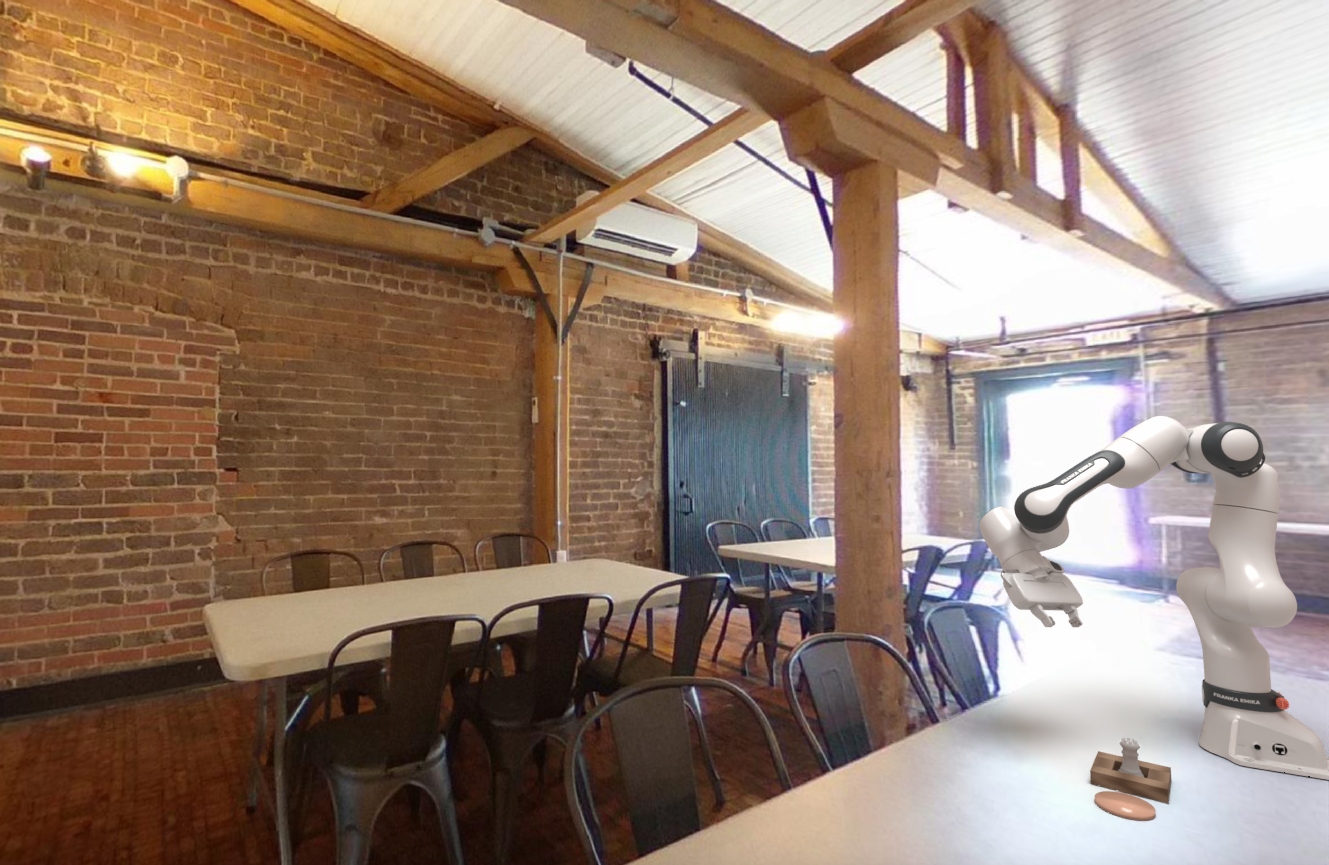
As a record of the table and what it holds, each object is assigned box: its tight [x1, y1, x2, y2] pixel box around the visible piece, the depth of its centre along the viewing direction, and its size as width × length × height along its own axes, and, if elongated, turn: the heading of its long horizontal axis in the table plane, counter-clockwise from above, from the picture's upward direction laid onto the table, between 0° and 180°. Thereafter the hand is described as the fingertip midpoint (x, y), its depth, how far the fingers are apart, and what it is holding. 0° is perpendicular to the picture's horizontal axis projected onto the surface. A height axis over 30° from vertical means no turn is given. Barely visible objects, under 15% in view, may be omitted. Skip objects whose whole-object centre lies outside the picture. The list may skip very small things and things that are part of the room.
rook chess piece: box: [1118, 737, 1144, 777], centre depth 128 cm, size 4×4×8 cm
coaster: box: [1094, 790, 1157, 822], centre depth 118 cm, size 9×9×1 cm
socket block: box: [1089, 751, 1172, 804], centre depth 128 cm, size 12×12×2 cm
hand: (1064, 626), depth 142 cm, fingers open, 8 cm apart
